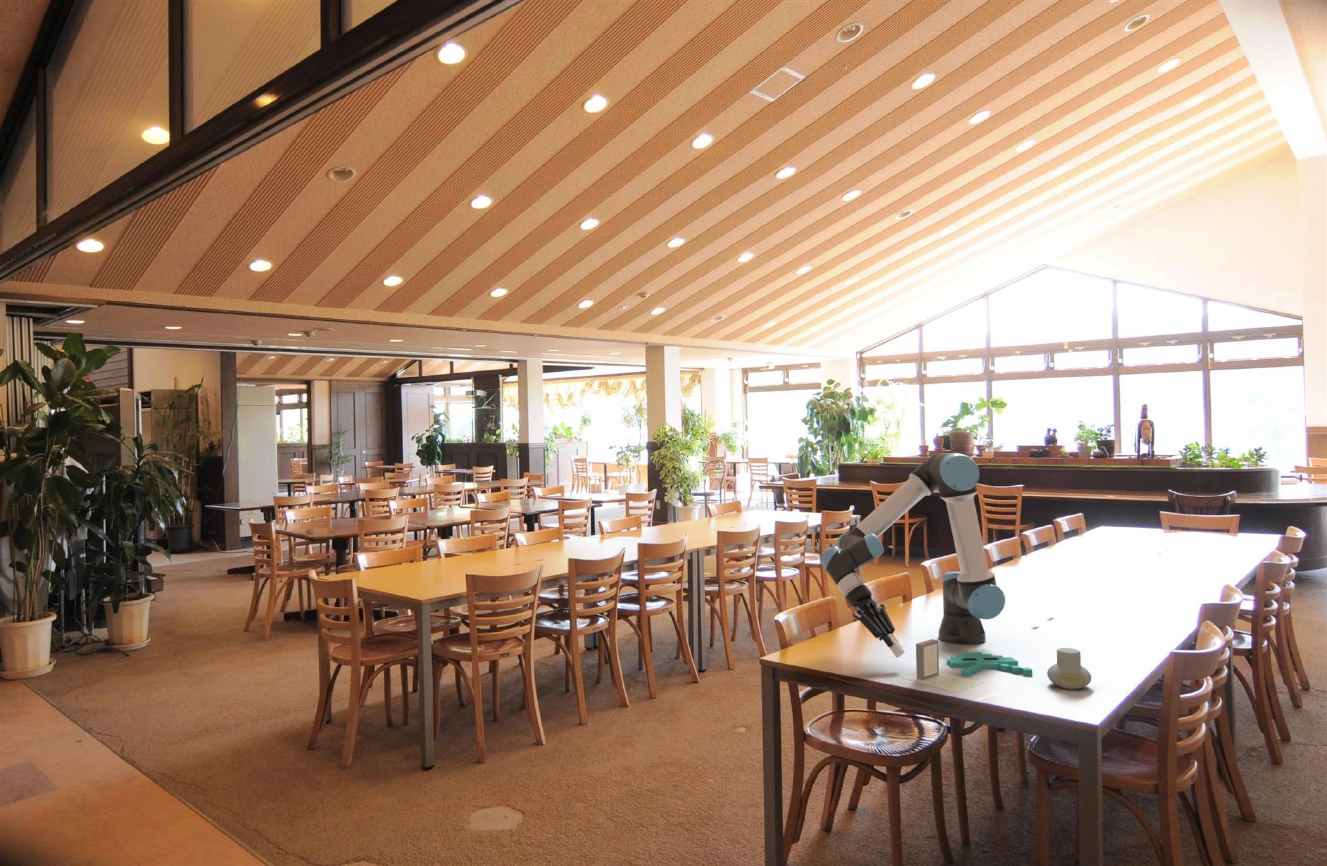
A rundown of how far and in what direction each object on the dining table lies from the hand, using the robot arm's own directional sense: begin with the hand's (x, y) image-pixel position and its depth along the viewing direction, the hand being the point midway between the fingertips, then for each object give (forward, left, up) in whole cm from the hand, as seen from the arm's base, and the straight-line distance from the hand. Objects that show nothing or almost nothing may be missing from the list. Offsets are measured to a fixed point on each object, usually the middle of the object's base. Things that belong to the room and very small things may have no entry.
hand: (900, 654), depth 244 cm
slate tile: (-5, +8, -5) cm, 10 cm away
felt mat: (-7, +12, -5) cm, 14 cm away
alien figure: (-26, +1, -6) cm, 27 cm away
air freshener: (-39, +23, -5) cm, 45 cm away
